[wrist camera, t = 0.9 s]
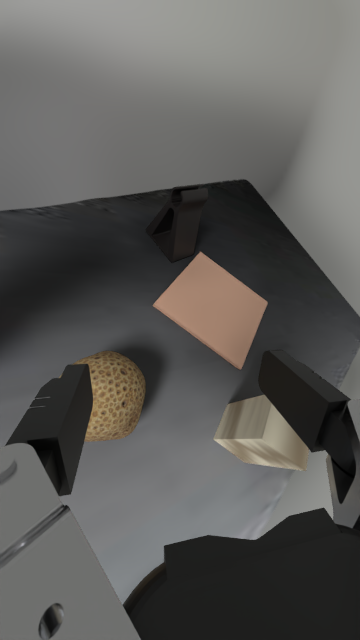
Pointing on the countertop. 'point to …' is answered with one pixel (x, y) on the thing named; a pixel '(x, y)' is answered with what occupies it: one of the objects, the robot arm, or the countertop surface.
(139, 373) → the natural sponge
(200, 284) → the terracotta tile
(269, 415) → the maple block
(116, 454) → the countertop surface
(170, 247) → the phone stand
